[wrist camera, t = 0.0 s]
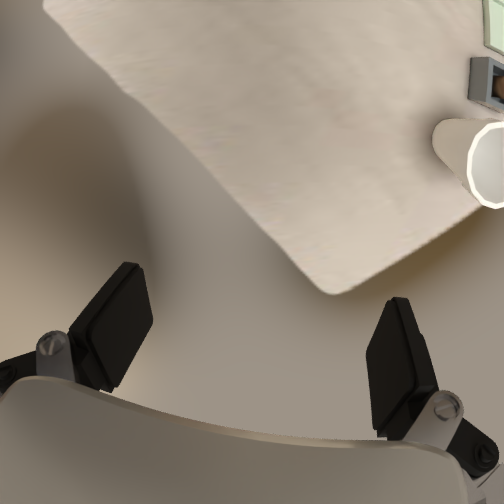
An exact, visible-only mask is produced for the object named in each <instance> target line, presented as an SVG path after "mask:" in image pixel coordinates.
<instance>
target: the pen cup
mask: <svg viewBox="0 0 504 504" xmlns="http://www.w3.org/2000/svg"><path fill="white" fill-rule="evenodd" d="M493 75H496V76H504V64H502V63H500V62H498V61H496V60H494V59H492V58H490V57H476V58H471V63H470V79H469V90H468V99H469V100H471V101H474V102H476V103H479V104H481V105H484V106H486V107H488V108H491V109H493V110H495V111H497V112H499V113H503V114H504V99H501V98H495V97H491V92H492V80H493Z"/></svg>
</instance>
